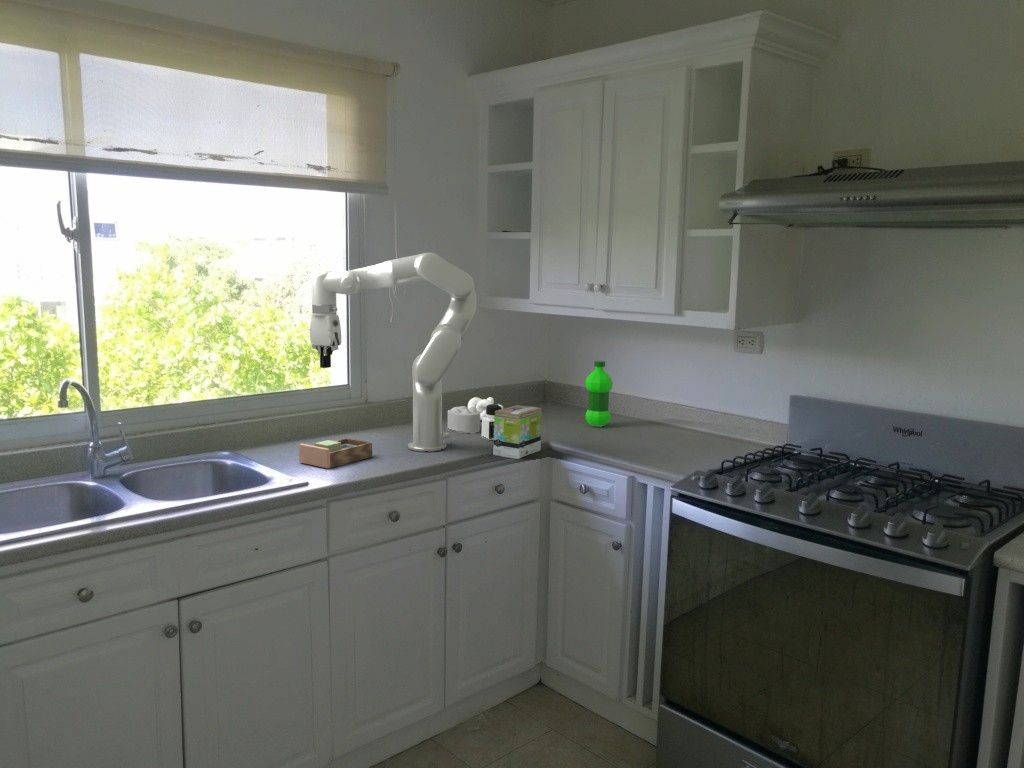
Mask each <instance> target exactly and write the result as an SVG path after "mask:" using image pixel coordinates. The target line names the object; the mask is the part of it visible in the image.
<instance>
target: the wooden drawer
mask: <svg viewBox="0 0 1024 768" xmlns="http://www.w3.org/2000/svg"><path fill="white" fill-rule="evenodd" d="M354 446H356V445H351V444H342V445H341V450H342V449H346V448H350V447H354ZM298 458H299V459H298V461H299V463H301V464H306V465H311V466H316V467H319V468H325V469H331V468H330V449H327V448H322V447H317V446H315V445H313V444H306V443H299V444H298Z"/></svg>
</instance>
